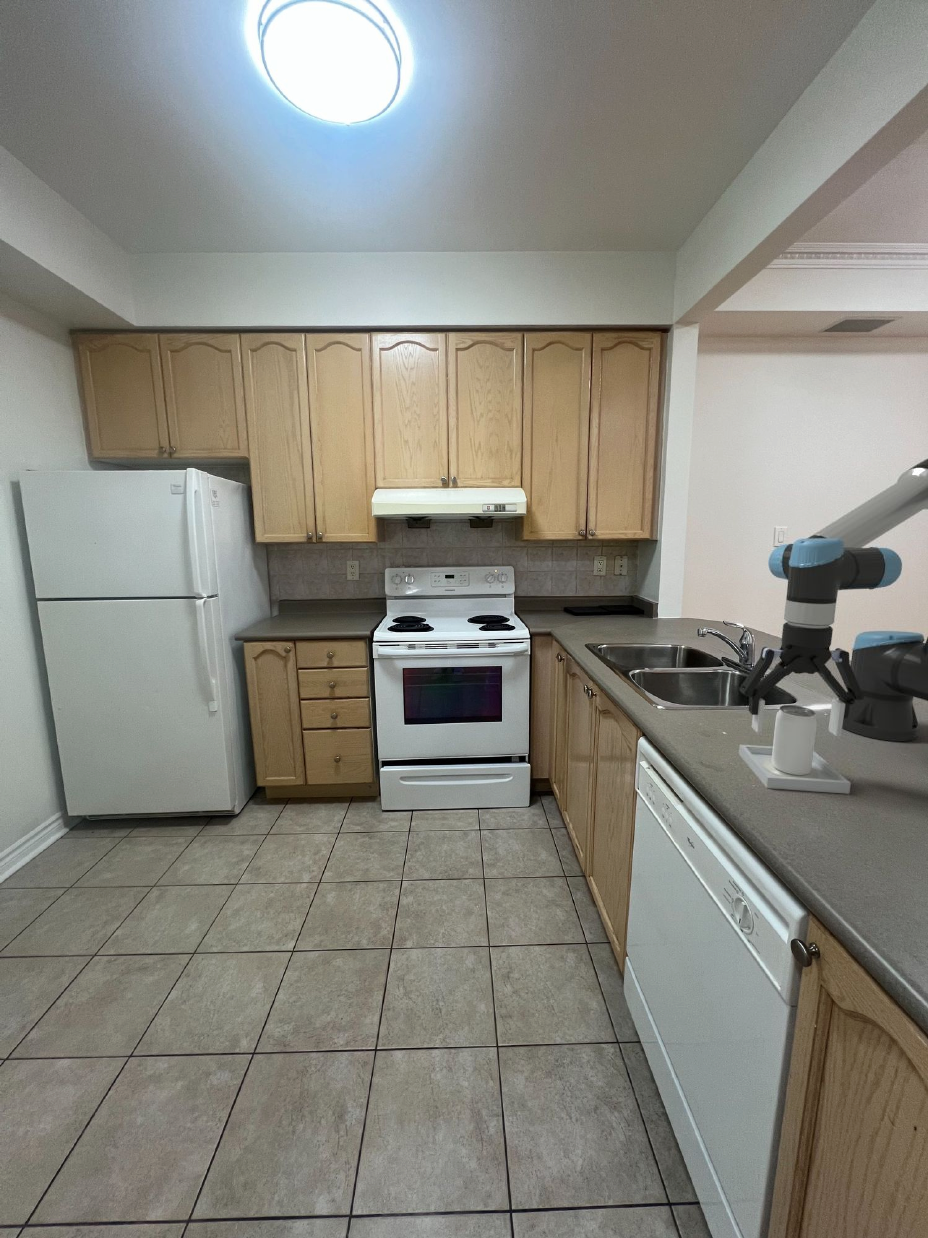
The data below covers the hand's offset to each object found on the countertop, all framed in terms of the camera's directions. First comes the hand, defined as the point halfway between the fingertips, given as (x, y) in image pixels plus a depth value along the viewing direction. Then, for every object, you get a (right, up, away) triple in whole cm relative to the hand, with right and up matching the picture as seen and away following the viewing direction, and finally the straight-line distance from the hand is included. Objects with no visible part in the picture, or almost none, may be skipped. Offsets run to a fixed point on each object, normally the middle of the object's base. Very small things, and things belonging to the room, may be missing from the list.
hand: (795, 732), depth 93 cm
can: (0, -8, +1) cm, 8 cm away
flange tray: (0, -8, +2) cm, 8 cm away
